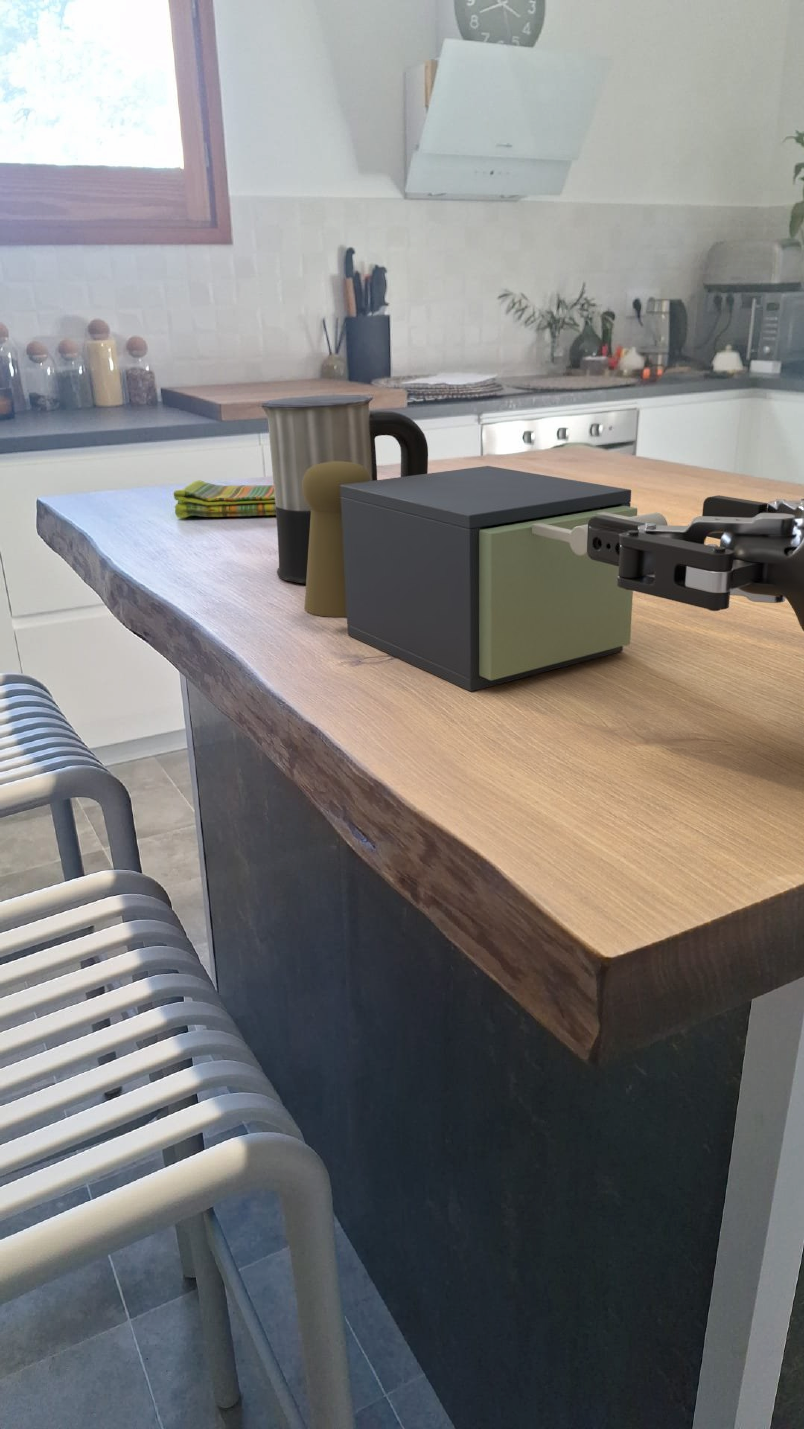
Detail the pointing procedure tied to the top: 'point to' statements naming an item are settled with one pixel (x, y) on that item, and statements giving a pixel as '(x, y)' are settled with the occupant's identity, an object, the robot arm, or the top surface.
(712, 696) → the top surface
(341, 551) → the olive pawn
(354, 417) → the milk frother
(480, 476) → the cabinet
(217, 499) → the dish towel
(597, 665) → the top surface
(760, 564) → the robot arm
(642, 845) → the top surface
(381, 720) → the top surface
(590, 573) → the drawer
